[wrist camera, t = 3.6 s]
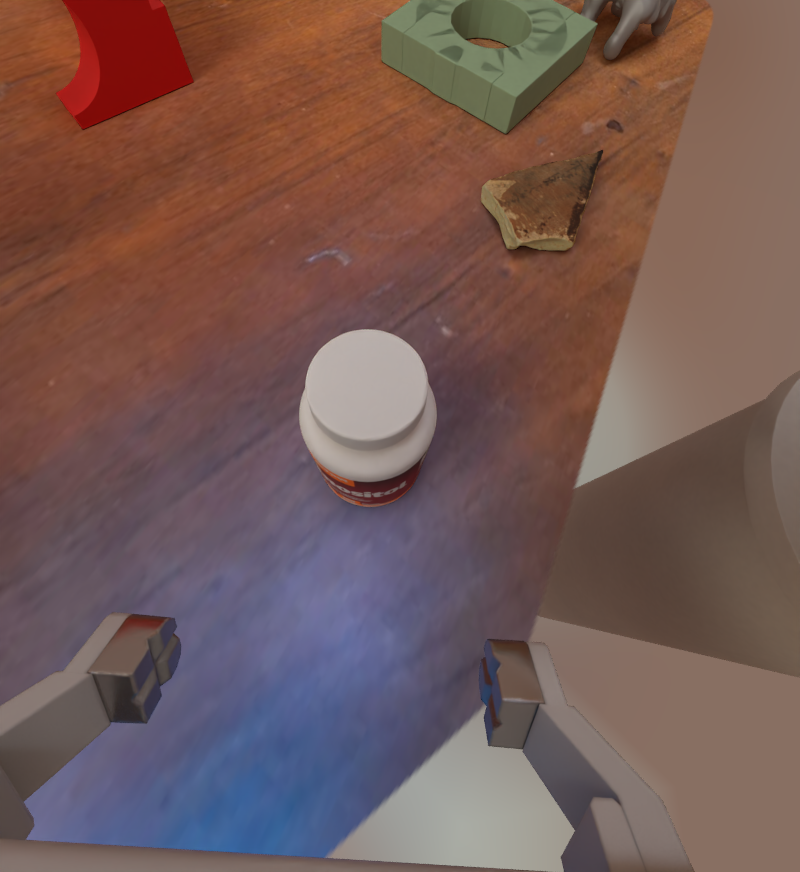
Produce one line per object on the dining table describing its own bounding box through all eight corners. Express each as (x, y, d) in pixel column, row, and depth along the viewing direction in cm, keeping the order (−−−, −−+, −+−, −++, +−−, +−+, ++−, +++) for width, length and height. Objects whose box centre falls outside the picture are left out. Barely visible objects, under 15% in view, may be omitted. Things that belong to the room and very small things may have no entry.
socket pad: (583, 62, 40) (599, 22, 37) (504, 135, 36) (515, 97, 33) (465, -1, 42) (471, -43, 39) (380, 62, 38) (380, 21, 36)
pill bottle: (311, 500, 25) (261, 444, 15) (333, 406, 27) (303, 299, 17) (413, 517, 25) (435, 473, 15) (427, 422, 27) (456, 324, 17)
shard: (594, 166, 35) (605, 145, 34) (640, 234, 33) (654, 216, 31) (476, 195, 34) (482, 174, 32) (517, 269, 31) (524, 251, 30)
